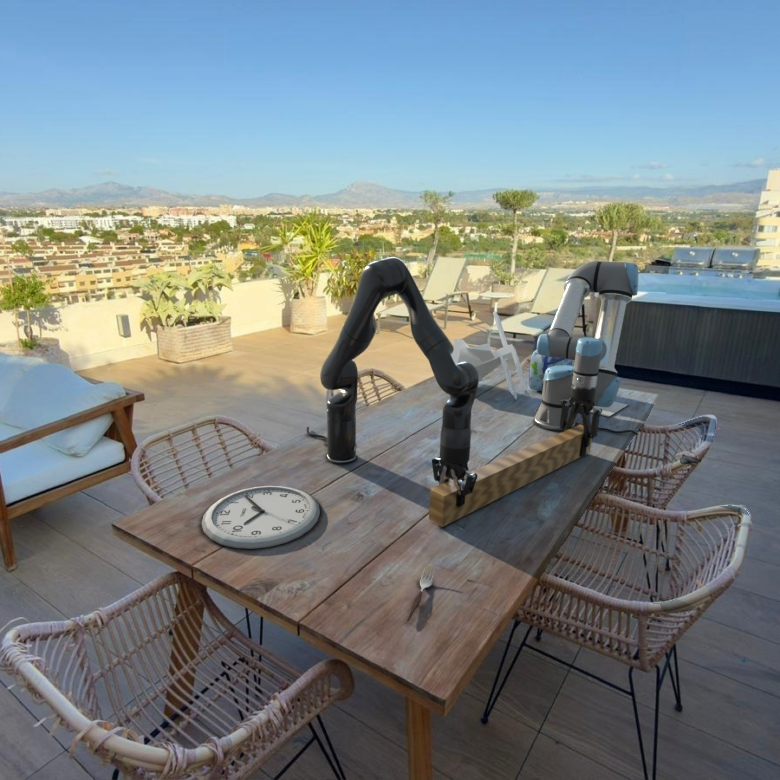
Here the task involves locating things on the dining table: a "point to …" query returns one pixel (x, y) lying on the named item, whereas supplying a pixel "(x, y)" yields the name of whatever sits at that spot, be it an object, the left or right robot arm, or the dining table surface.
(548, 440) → the post
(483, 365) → the white plastic object
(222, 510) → the wall clock
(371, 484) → the dining table surface
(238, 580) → the dining table surface
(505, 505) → the dining table surface
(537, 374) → the lunch box
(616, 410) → the invitation card
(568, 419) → the right robot arm
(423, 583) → the fork
